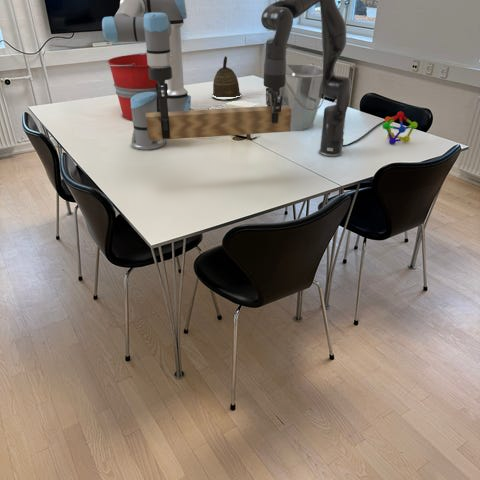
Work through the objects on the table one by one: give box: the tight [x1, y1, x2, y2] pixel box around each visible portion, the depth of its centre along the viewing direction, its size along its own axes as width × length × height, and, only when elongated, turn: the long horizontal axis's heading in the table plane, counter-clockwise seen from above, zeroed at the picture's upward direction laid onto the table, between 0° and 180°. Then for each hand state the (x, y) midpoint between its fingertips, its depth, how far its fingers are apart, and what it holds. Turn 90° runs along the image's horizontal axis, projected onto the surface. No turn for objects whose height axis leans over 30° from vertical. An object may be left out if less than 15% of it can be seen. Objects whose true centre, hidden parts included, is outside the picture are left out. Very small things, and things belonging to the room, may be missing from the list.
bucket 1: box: [104, 51, 158, 121], centre depth 240 cm, size 35×35×30 cm
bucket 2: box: [279, 63, 325, 131], centre depth 226 cm, size 30×30×28 cm
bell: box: [212, 56, 242, 97], centre depth 278 cm, size 19×26×20 cm
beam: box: [146, 105, 292, 141], centre depth 158 cm, size 51×5×8 cm, turn 101°
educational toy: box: [382, 110, 418, 145], centre depth 207 cm, size 16×13×15 cm
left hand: (165, 135), depth 156 cm, fingers closed on beam, 5 cm apart
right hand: (272, 120), depth 161 cm, fingers closed on beam, 5 cm apart
